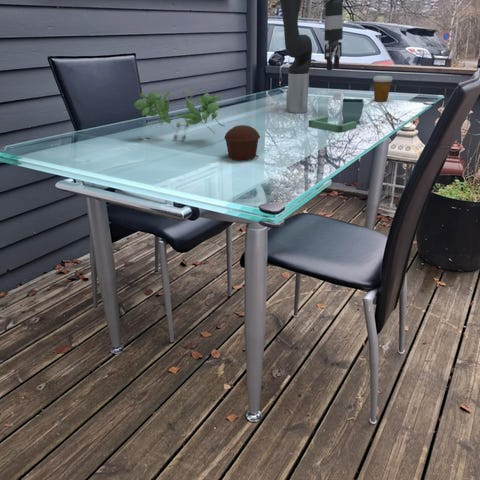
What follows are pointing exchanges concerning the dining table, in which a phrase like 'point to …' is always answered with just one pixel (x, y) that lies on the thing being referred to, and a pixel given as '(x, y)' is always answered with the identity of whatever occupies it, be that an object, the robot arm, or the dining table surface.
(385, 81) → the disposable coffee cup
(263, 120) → the dining table surface
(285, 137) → the dining table surface
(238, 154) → the muffin
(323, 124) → the green u-shaped frame
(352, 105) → the flower pot
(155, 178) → the dining table surface
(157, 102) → the plant cuttings
